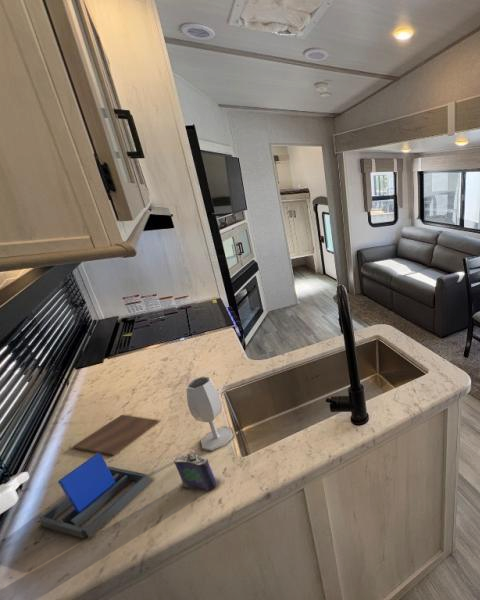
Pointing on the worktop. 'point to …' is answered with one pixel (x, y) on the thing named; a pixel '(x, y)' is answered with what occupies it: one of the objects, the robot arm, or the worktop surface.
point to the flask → (195, 471)
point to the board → (116, 435)
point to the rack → (95, 506)
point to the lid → (87, 482)
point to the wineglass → (207, 411)
